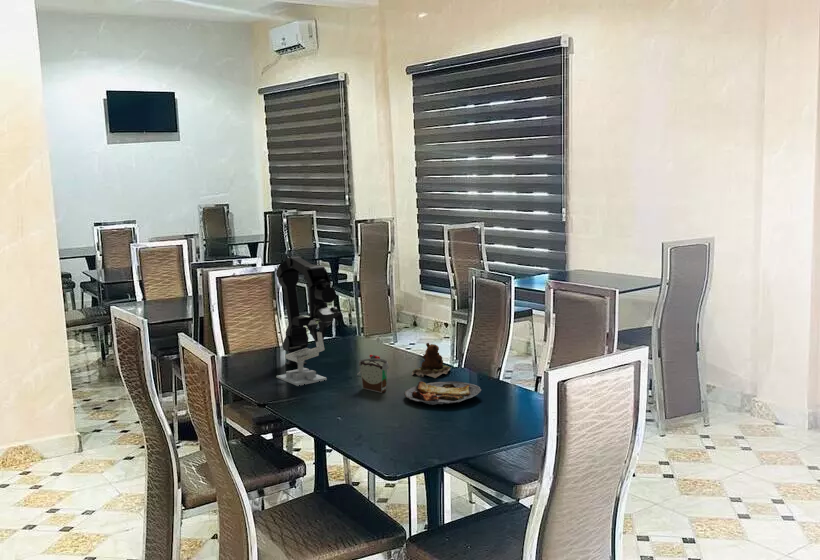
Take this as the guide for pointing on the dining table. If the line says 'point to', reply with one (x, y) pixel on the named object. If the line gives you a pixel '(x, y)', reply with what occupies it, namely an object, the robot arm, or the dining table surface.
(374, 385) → the food container
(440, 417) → the dining table surface
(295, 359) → the square frame with handle
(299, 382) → the plate with round-ended peg
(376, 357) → the tow hook
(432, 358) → the bear figurine
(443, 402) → the food plate
